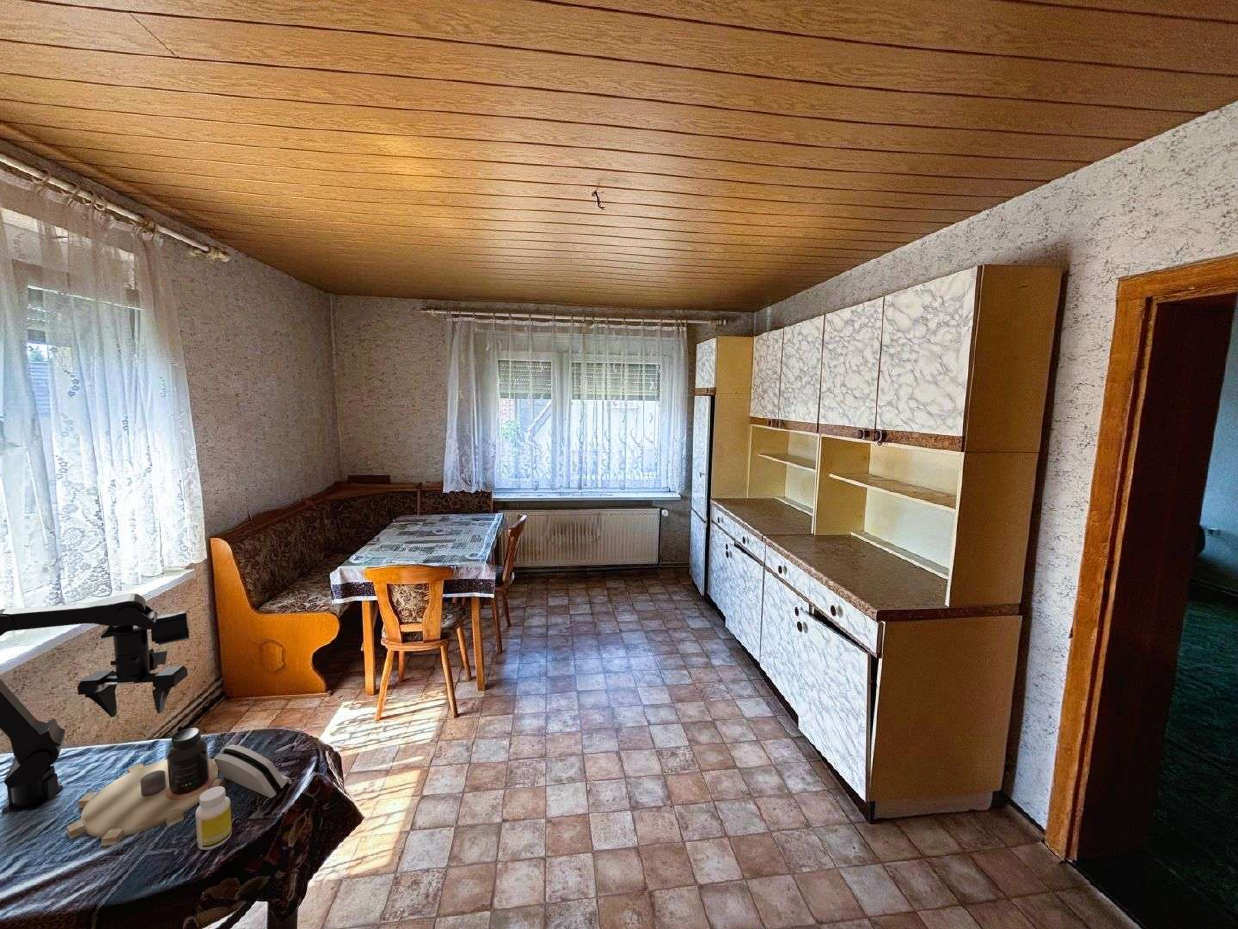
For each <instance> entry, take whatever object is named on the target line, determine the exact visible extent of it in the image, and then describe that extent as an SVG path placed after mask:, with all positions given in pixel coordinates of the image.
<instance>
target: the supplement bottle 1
mask: <svg viewBox="0 0 1238 929" xmlns="http://www.w3.org/2000/svg"><path fill="white" fill-rule="evenodd" d="M208 750H209V749H208V742H207V741H206V740H205V739H204V738H202V734H201V729H200V728H198V727H189V728H185V729H182V730H180V731H178V732H176V733H174V734H173V736H172V737H171V748H170V749H169V750H168V752H167V754H166V759H167V765H168V776H169V786H170V791H171V792H172V793H173V794H176V795H182V794H187V793H190V792H193V791H195V790H197V789H199V788H200V787H202V786H203V785H204V784H205V783H206V782H207V781H208V779H209V775H210V774H209V760H208V758H209V752H208Z"/></svg>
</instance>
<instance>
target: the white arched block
mask: <svg viewBox="0 0 1238 929" xmlns="http://www.w3.org/2000/svg"><path fill="white" fill-rule="evenodd" d="M213 759H214V761H215V763H216V765H217V767H218V771H219V772H220V774H221V776H222V778H224V777H225V779H227V780H229V779H230V780H229V781H231V780H232V781H231V782H233V781H234V782H233V783H236V784H238V785H240V786H242V787H244V788H247V789H249V790H251V791H253V792H256V793H259V794H261V795H262V796H265V797H267V798H269V799H272V798H274V797H275V796H276V795H277V791H278V790H277V789H279V790H280V789H283V788H284V786H285V785H286V784H289V785H292V784H293V781H292V779H291V778H290V777H288V776H286V775H283V774H282V773H280V772H279V770H278V769H277V767H276V766H275V765H274V763H273V762H272V761H271V760H270V759H268V758H266V757H264V756H263V755H261V754H260V753H257V752H256V751H254V750H252V749H250V748H247V747H245V746H241V745H238V744H237V745H236V744H229V745H228V746H226V747H224V748H223V752H220V753H217V755H216V756H215V757H214V758H213Z"/></svg>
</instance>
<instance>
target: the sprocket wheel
mask: <svg viewBox="0 0 1238 929" xmlns="http://www.w3.org/2000/svg"><path fill="white" fill-rule="evenodd" d="M214 759H215V758H209V757H208V760H209V774H210V775H209V779H208V781H207V782H206V783H205V784H204V785H203V786H202V787H200V788H199V789H197V790H195V791H193V792H190V793H187V794H182V795H176V794H173V793H172V792H171V791H170V786H169V776H168V765H167V758H166V759H163V760H159V761H155V762H153V763H151V764H148V765H144V764H143V763H142V762H140V763H138V764H135V765H133V766H130V767H128V768H127V774H124V775H122V776H120V777H119V778H117V779H115V780H113V781H112V782H110V783H109V784H108V785H106V786H104V787H103V788H102V789H101V790H99V791H93V792H87V793H86V794H85V795H84V796H82V797H81V798H80V799H79V800H78V802H77V803H78V808H79V809H81V808H82V811H81V814H80V816H81V817H80V820H77V821H75V822H72V823H71V824H68V825H66V832H67V835H68V837H69V839H70V840H71V839H73V838H76V837H78V836H79V835H82V834H84V833H86V834H88V835H90V836H92V837H97V838H101V839H100V840H101V847H107V846H113V845H117V844H118V843H119V842H120V841H121V840H122V839H123V838H124V837H125V836H129V835H133V834H137V833H140V832H144V831H147V830H149V829H152V828H156V827H158V826H160V825H163V824H164V823H165V825H166V826H168V827H169V828H170V827H171V826H172V827H173V825H175V824H177V823H179V822H181V821H183V820H184V813H186V812H187V811H189V810H191V809H192V808H193V807H195V806H196V805H198V804H199V797H200V795H201V794H202V793H203V792H205V791H206V790H208V789H210V788H213V787H217V786H222V787H223V786H224V787H225V785H226V778H224V777H222V778H219V769H218V767H217V765H216V763H215V761H214Z"/></svg>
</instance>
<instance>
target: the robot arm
mask: <svg viewBox="0 0 1238 929" xmlns="http://www.w3.org/2000/svg"><path fill="white" fill-rule="evenodd" d="M146 602H147V601H146V599H145V598H144V596H142V595H140V594H139V593H133V592H132V593H125V594H119V595H115V596H111V597H107V598H103V599H100V600H97V601H91V602H85V603H71V604H69V603H68V604H58V605H57V604H56V605H45V606H34V607H21V608H11V607H6V608H1V609H0V637H2V636H3V635H4V634H6V633H7V632H13V631H22V630H23V631H24V630H35V629H42V628H43V629H44V628H55V627H64V626H65V627H66V626H74V625H75V626H77V625H85V624H87V625H89V624H91V625H93V624H95V625H98V626H107V627H106V628H104V629H103V630H102V631H101V635H100V639H107V638H111V637H112V641H113V649H114V650H113V651H114V658H113V659H111V660H110V666H115V670H113V669H111V670H99V671H95V672H93V673H91V674H90V675H87V676H86V677H84V678H83V679H82V680H80V681H79V683H77V686H76V691H77V695H78V696H82V695H83V696H84V698H87V699H90V700H91V701H93V702H94V703H95V704H96V705H98V706H99V707H100V708H101V709H102V710H103V711H104V712H105V713H106V714H107V715H108V716H109V717H110V718H114V717H115V716H117V714H118V713H117V710H118V706H117V698H116V689H117V686H118V685H130V684H142V683H143V684H144V683H152V687H154V689H153V690H152V691H151V693H152V697H153V701H154V702H153V703H154V706H155V707H154V708H155V710H156V713H157V714H161V713H162V712H163V710H164V707H165V705H166V703H167V699H168V697H169V694H170V692H171V690H172V688H174V687H176V686H177V685H178V684H180V682H182V681H183V680H184V679H185V678H187V676H189V674H188V668H187V667H186V666H185V665H172V666H171V665H170V666H166V667H164V668H163V669H162V670H161V671H160V672H152V671H155V670H157V668H158V666H159V665H162V666H163V665H166V663H167V657H168V650H159V651H156V650H154V648H153V647H149V646H150V645H149V634H148V631H149V630H150V637H151V642H152V643H154V644H155V645H158V646H161V645H166V644H171V643H177V642H181V641H186V640H190V626H189V624H190V623H189V620H188V614H187V610H180V611H177V612H174V613H168V614H162V615H159V614H158V612H157V611H156V610H154V609H152V608H151V607H150V606H148V605H147V603H146ZM0 731H1V732H2V733H3V734H4V735H5V736H6V737H7V738H8V739H9V741H10V745H11V748H12V753H13V757H14V760H13V761H12V764H11V765H10V767H9V770H8V772H7V774H6V776H5V779H4V781H3V783H4V784H5V786H6V792H7V798H8V799H7V800H8V801H7V802H8V804H7V805H6V806H4V807H3V808H2V809H1V813H10V812H11V813H13V812H22V811H27V810H28V811H30V810H36V809H39V808H41V807H42V806H43V805H44V804H46V803H47V802H48V801H49V800H51V798H53V797H54V796H55V795H56V794H57V793H58V792H60V791H61V790H62V789H63V788H64V785H63V784H60V785H59V780H58V773H56V770H55V765H53V764H54V763H56V761H57V760H58V759H59V756H60V754H61V752H62V748H63V745H64V743H65V738H66V737H65V733H66V732H67V730H66V729H65V728H62V727H61V726H60V725H59V724H58V722H57V720H56V718H52V719H50V720H48V721H47V722H45V721H41V720H39V719H37V718H36V717H35V716H34V715H33V714H32V713H31V711H30V710H28V708H27V707H26V706H25V705H24V704H23V702H21V700H19V698H18V697H17V696H16V695H15V694H14V693H13V691H11V689H10V688H9V687H8V686H7V685H6V683H4V681H3V680H2V679H1V678H0Z"/></svg>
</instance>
